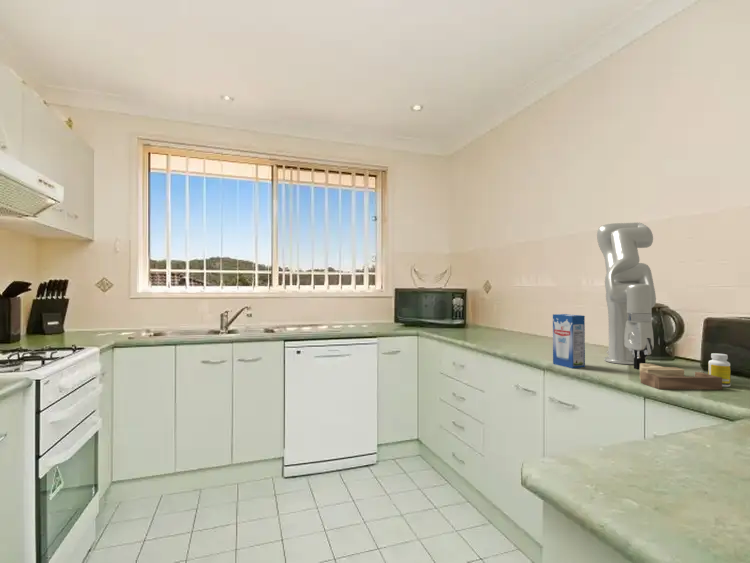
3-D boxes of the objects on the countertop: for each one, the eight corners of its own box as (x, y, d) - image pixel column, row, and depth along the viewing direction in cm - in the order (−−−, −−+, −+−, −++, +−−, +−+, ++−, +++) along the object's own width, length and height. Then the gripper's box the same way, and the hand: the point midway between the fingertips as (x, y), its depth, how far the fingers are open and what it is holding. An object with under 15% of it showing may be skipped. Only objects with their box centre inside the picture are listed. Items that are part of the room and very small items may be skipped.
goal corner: (640, 382, 130) (640, 371, 130) (700, 382, 130) (700, 372, 130) (658, 389, 122) (658, 377, 122) (722, 389, 122) (722, 377, 122)
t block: (628, 374, 142) (628, 363, 142) (662, 374, 142) (662, 363, 142) (647, 381, 132) (647, 369, 132) (684, 381, 132) (684, 369, 132)
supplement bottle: (735, 387, 124) (734, 355, 124) (714, 386, 125) (714, 355, 125) (723, 383, 129) (723, 353, 129) (704, 382, 130) (704, 352, 131)
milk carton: (585, 367, 156) (584, 315, 156) (572, 368, 153) (572, 315, 154) (564, 362, 165) (564, 314, 165) (552, 363, 163) (552, 314, 163)
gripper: (616, 316, 153) (616, 365, 153) (642, 319, 138) (642, 373, 138) (636, 316, 153) (636, 365, 153) (664, 319, 138) (664, 373, 138)
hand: (639, 369), depth 145 cm, fingers closed
